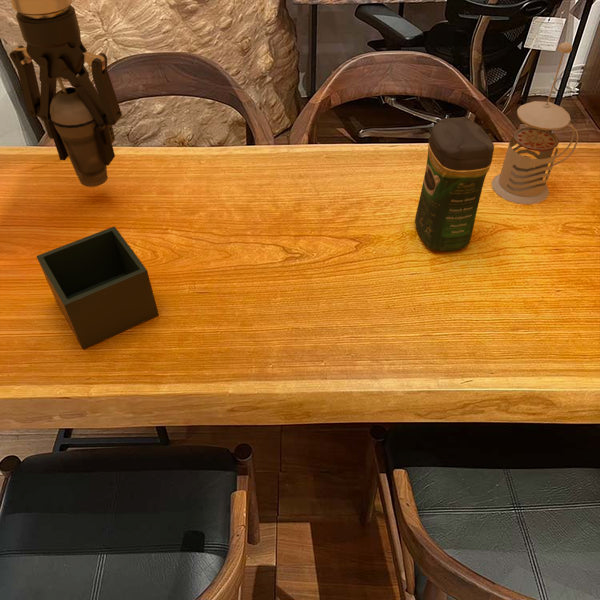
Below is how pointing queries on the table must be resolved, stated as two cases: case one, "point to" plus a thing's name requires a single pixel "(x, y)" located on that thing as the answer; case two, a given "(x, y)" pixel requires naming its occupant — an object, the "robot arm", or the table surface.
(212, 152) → the table surface
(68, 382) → the table surface
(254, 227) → the table surface
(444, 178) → the coffee jar
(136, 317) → the bin
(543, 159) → the french press
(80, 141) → the beverage cup
